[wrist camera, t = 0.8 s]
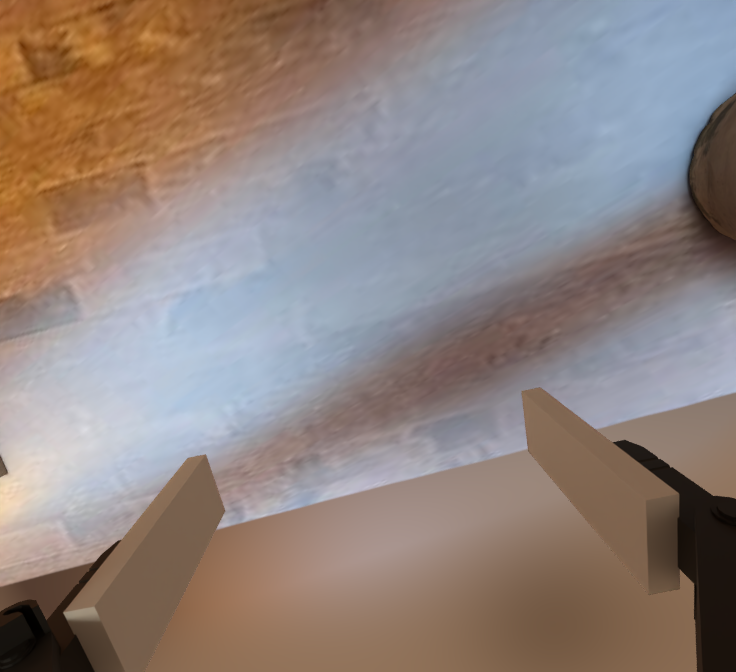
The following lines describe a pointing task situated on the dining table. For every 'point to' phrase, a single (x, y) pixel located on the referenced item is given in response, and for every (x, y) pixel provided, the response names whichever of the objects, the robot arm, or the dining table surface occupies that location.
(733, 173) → the clay pot
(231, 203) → the dining table surface
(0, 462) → the rail
